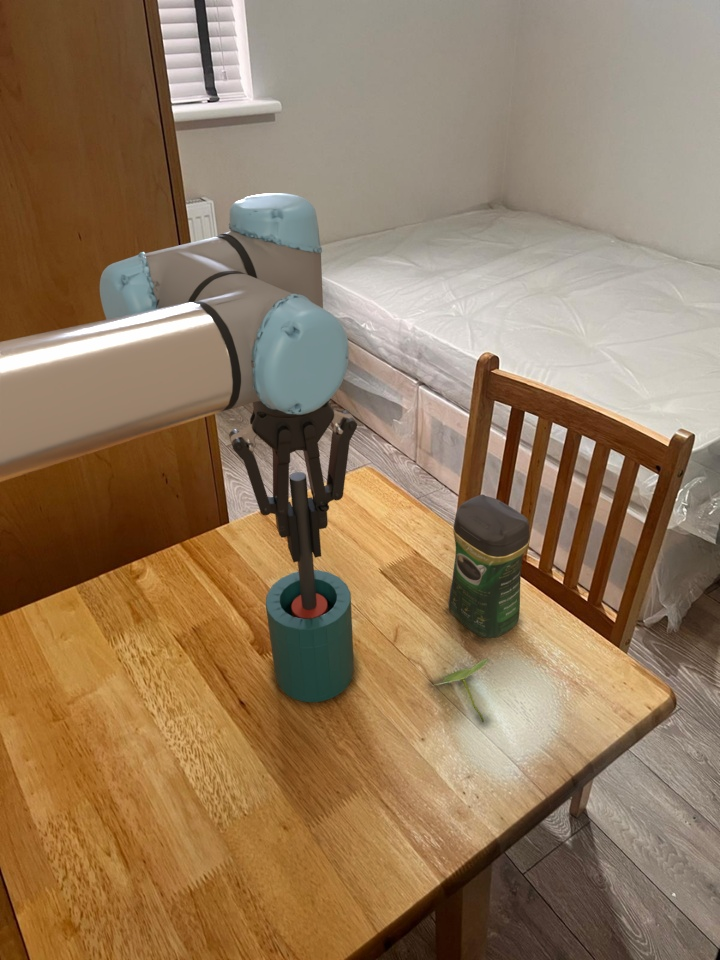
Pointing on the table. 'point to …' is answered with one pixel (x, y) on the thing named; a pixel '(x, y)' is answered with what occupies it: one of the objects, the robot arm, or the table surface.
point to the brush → (305, 554)
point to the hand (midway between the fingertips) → (304, 551)
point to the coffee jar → (488, 565)
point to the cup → (311, 639)
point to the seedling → (463, 674)
